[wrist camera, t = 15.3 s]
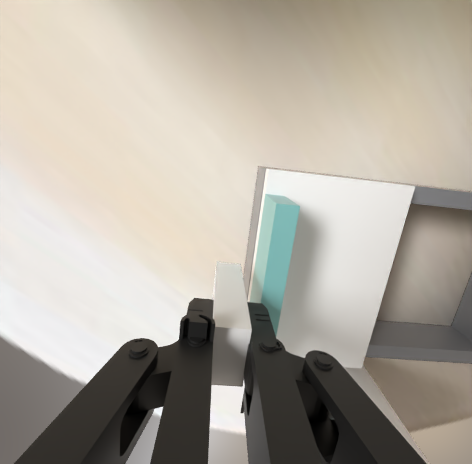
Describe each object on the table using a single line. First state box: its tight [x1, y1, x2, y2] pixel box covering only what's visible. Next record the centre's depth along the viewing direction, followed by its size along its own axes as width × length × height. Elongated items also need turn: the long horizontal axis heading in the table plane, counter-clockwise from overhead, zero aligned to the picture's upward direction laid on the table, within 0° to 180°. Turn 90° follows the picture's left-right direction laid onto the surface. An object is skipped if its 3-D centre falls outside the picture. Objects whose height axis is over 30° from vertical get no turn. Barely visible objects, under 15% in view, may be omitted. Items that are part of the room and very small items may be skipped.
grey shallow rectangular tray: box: [243, 166, 472, 364], centre depth 22 cm, size 14×22×4 cm, turn 83°
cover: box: [247, 168, 415, 368], centre depth 17 cm, size 14×9×4 cm
